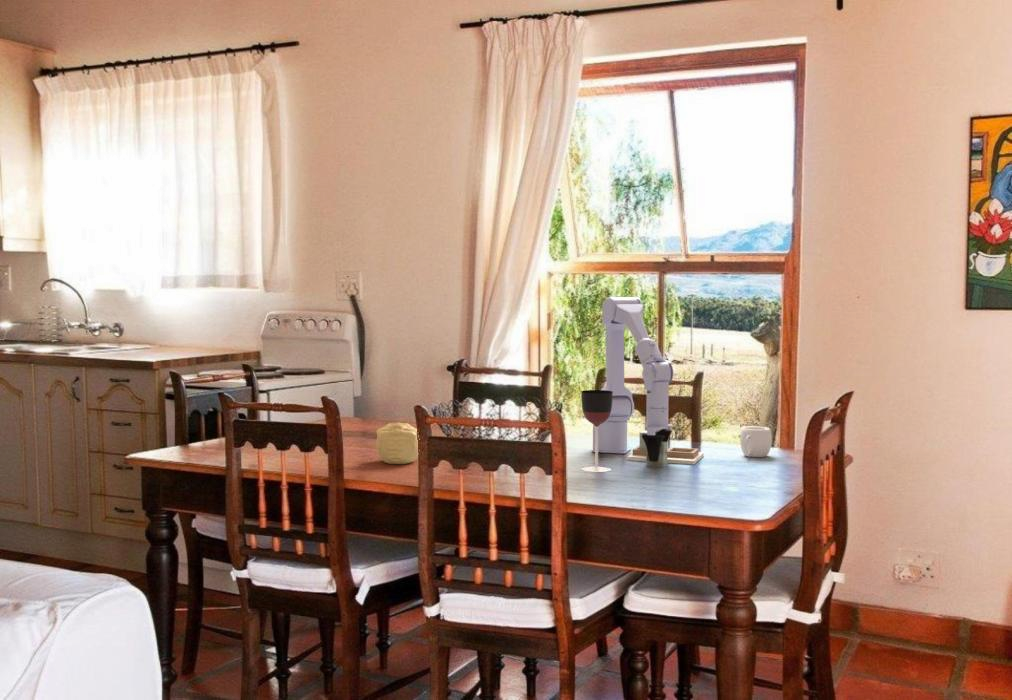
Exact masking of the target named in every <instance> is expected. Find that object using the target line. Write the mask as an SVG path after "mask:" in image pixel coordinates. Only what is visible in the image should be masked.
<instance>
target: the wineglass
mask: <svg viewBox="0 0 1012 700" xmlns="http://www.w3.org/2000/svg"><path fill="white" fill-rule="evenodd" d="M613 397H614V396H613V392H612V391H607V390H601V389H587V390H586V389H585V390H582V391H580V398H581V409H582V413H583V416H584V418H585V420H587V421H588V422H589V423H591V424H592V425H595V452H594V466H587V467H582V468H581V470H582V471H584V472H591V473H603V472H605V473H606V472H610V471H612V469H611V468H609V467H605V466H599V452H598V426H599V425H600V424H602V423H604V422H605V421H606V420H607V419H608V418H609V416H610V413H611V409H612V399H613Z"/></svg>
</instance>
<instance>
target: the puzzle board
mask: <svg viewBox="0 0 1012 700" xmlns="http://www.w3.org/2000/svg"><path fill="white" fill-rule="evenodd" d="M642 434H647V429H646V430H641V431H639V445H637V446H636V447H635V448H633V449H632V453H631V454H629V455H627V456H626V461H633V462H634V461H635V462H646V454H647V448H646V445H645V442H644V440H643V438H642ZM703 457H704V452H700V449H699V448H691V447H690V448H688V447H677V446H676V447H675V446H671V447H669V448H667V464H680V465H695V464H696V463H698V462H699V460H701V459H702V458H703Z"/></svg>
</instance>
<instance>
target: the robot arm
mask: <svg viewBox="0 0 1012 700" xmlns="http://www.w3.org/2000/svg"><path fill="white" fill-rule="evenodd" d="M601 306H602V307H601V316H602V317H601V318H602V319H601V321H602V326H604V327H605V384H606V385H605V386H604V387H603V388H601V389H600V390H607V391H612V392H613V399H612V409H611V413H610V416H609V418H608V419H607V420H606V421H605V422H604V423H602V424H600V425H599V426H598V453H608V454H626V453H628V452H630V451H631V450H632V448H631V447H628V421H630V418H632V416H633V415H634V412H635V402H634V400H633V392H632V391H631V390H630V389H628V388H627V387H626V385H625V330H626V329H628V330H629V331H630V333H631V335H632V337H633V339H634V341H635V342H636V346H635V352H636V354H637V356H638V360H639V361H640V363H641V366H642V371H641V373H642V379H643V383H644V390H645V391H646V399H645V400H646V401H645V402H646V413H645V414H646V415H645V416H646V420H645V422H646V423H645V424H644V425H645V428H646V431H647V434H642V438H643V440H644V442H645V445H646V448H647V452H648V457H649V461H653V462H657V461H658V459H659V453H660V447H661V443H662V442H667V443H668V441H669V438H670V436H671V434H672V432H673V430H672V429H671V428H673V427H674V424H672V423H671V424H670V423H669V399H670V398H669V394H670V393H669V390H670V389H669V385H670V383H671V382H672V381H673V378H674V369H673V365H672V363H671V362H670V360H667V359H666V358H664V356H662V355H663V354H662V353H661V351H660V348H659V347H658V346H659V345H658V344H657V342H656V340H654V339H652V338H650V337H649V334H648V330H647V328H646V325H645V322H644V319H643V315H644V305H643V302H642V300H641V298H640V297H639V296H633V297H632V296H631V297H629V296H628V297H627V296H625V297H624V296H623V297H618V296H617V297H616V296H615V297H612V296H607V297H606V298H605V300H604V302H603V303H602V304H601ZM592 425H593V424H592ZM591 452H593V453H595V425H593V427H592V450H591Z"/></svg>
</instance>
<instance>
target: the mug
mask: <svg viewBox="0 0 1012 700" xmlns="http://www.w3.org/2000/svg"><path fill="white" fill-rule="evenodd" d="M739 436H740V438H739V440H740V441H739V442H740V443H739V444H740V448H741V451H742V453H743V455H744V456H745V457H749V458H755V457H761V458H764V457H765V458H766V457H767V456H768V454H769V453H770V451H771V448H772V441H773V438H772V437H773V435H772V430H771V428H769V427H766V426H759V425H758V426H756V425H755V426H754V425H753V426H751V425H749V426H743V427H742V428H741V430H740V435H739Z"/></svg>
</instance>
